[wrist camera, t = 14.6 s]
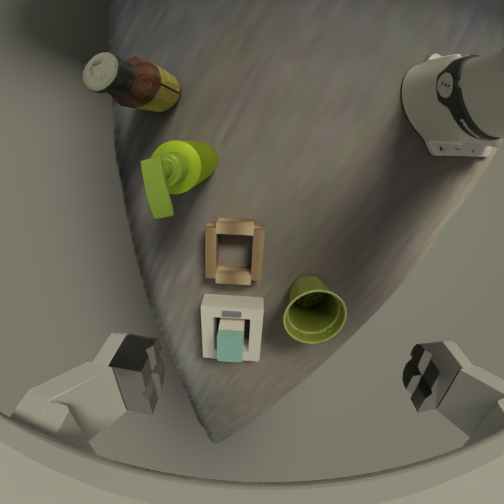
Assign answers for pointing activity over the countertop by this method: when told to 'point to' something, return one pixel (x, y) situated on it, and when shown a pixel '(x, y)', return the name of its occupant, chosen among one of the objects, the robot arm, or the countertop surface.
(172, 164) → the soap dispenser
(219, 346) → the plug
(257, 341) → the port
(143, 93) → the sauce bottle
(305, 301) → the plant pot
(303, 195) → the countertop surface
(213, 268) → the brown wooden square frame
